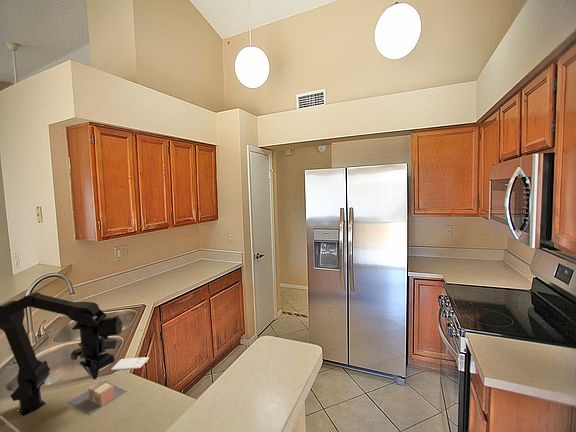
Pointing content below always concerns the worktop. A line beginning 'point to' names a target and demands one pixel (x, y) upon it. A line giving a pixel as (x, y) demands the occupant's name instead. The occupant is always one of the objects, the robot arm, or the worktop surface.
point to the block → (101, 393)
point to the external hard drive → (130, 363)
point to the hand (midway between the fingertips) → (94, 378)
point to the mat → (90, 406)
